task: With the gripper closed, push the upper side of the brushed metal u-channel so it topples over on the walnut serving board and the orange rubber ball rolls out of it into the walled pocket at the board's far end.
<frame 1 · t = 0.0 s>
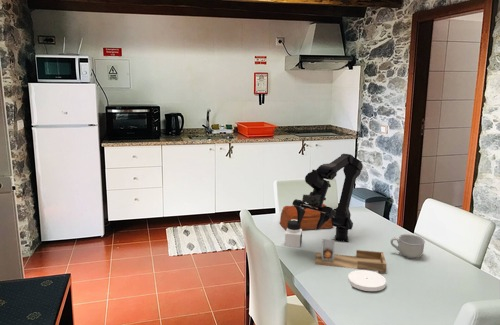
hand: (307, 227, 174), 15 cm above the table, tool tilted 35°, fingers open, 9 cm apart
brushed metal u-channel: (327, 259, 176), point 1 cm above the table, touching ball, serving board
medicine bottle: (293, 245, 193), on the table
ball: (327, 255, 175), point 3 cm above the table, touching brushed metal u-channel
teacup: (406, 255, 184), on the table
bread: (306, 225, 219), on the table
serving board: (349, 263, 174), on the table
plastic lid: (366, 284, 158), on the table
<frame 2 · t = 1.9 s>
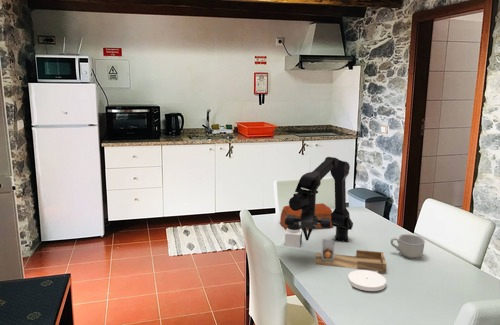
hand: (307, 240, 176), 9 cm above the table, tool pointing down, fingers closed
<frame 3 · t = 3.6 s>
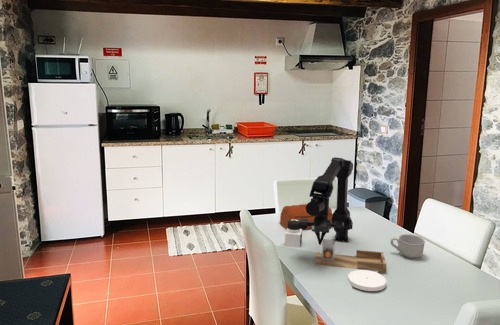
hand: (320, 244, 175), 7 cm above the table, tool pointing down, fingers closed
brushed metal u-channel: (327, 259, 176), point 1 cm above the table, touching ball, gripper, serving board
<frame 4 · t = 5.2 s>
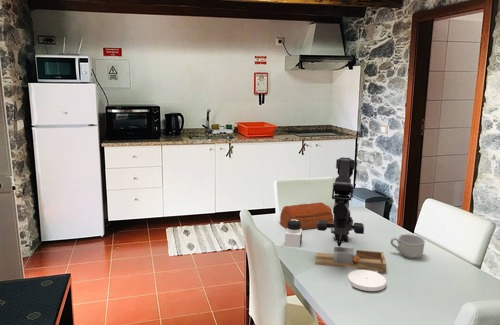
hand: (339, 246, 174), 7 cm above the table, tool pointing down, fingers closed
brushed metal u-channel: (333, 254, 175), point 3 cm above the table, tilted 90°, touching serving board
ball: (355, 258, 173), point 3 cm above the table, tilted 25°
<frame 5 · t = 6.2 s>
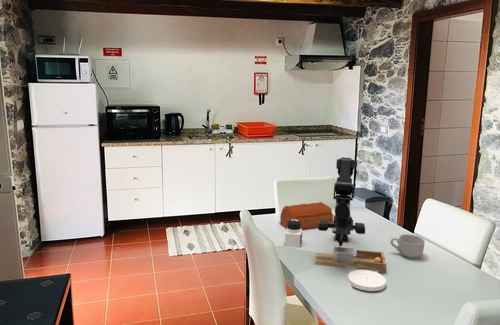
hand: (340, 246, 174), 8 cm above the table, tool pointing down, fingers closed
ball: (377, 260, 172), point 2 cm above the table, touching serving board
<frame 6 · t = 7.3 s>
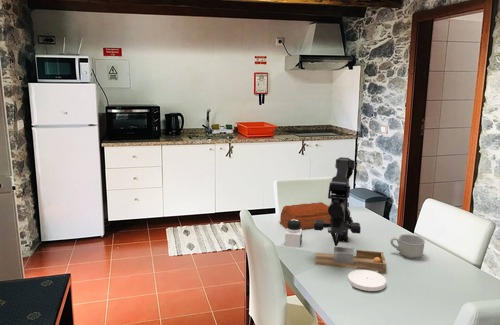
hand: (335, 245, 174), 8 cm above the table, tool pointing down, fingers closed
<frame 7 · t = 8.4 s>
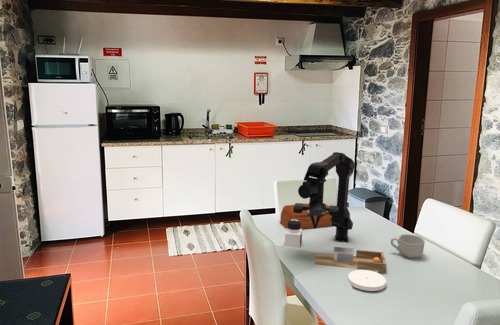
hand: (315, 228, 178), 13 cm above the table, tool pointing down, fingers closed
ball: (376, 260, 172), point 2 cm above the table, tilted 14°, touching serving board
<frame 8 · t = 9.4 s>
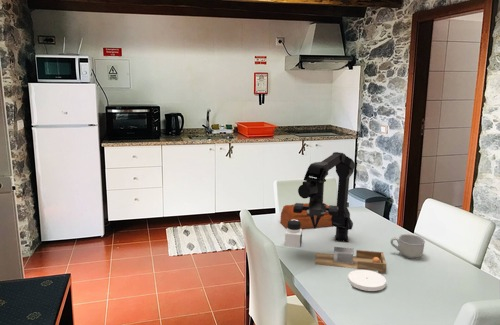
hand: (315, 228, 178), 13 cm above the table, tool pointing down, fingers closed
ball: (376, 260, 172), point 2 cm above the table, tilted 21°, touching serving board
at the end: ball inside the target area (2.4 cm from its centre), point 2.5 cm above the table; brushed metal u-channel tilted 90° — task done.
